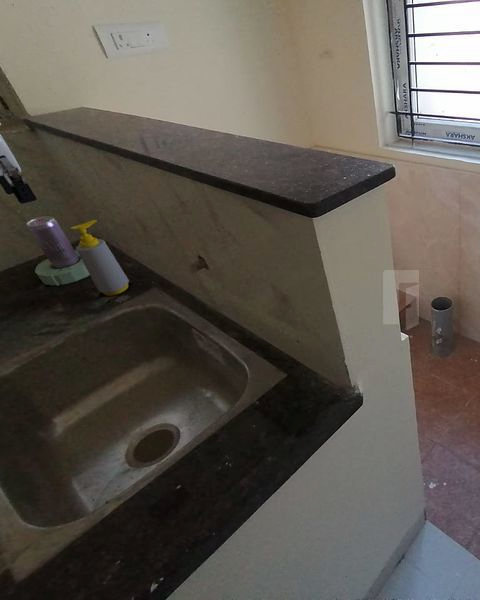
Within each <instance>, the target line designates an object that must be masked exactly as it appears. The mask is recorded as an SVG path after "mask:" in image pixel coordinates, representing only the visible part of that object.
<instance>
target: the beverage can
mask: <svg viewBox="0 0 480 600" xmlns="http://www.w3.org/2000/svg"><path fill="white" fill-rule="evenodd" d="M25 225H26V227H27V229H28V231H29V233H30V234H31V236H32V237H33V239H34V240H35V242H36V243H37V245H38V247H39V248H40V249H41V252H43V253H44V255H45V257H46V258H47V259H48V260H49V261H50V263H51V264H52V266H53V267H54V269H62V268H67V267H70V266H72V265H75V264H76V263H78V262H79V261H80V258H79V257H78V255H77V254H76V252H75V250H76V249H74V247H73V246H72V244H71V242H70V240H69V239H68V237H67V235H66V234H65V232H64V231H63V229H62V227H61V226H60V224H59V223H58V221H57V220H56V219H55V218H54V216H52V215H51V216H49V215H45V216H40V217H35V218H33V219H31V220H29V221H27V222H26V223H25Z"/></svg>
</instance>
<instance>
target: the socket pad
mask: <svg viewBox="0 0 480 600" xmlns="http://www.w3.org/2000/svg"><path fill="white" fill-rule="evenodd" d="M74 250H75V252H76V254H77V255H78V257H79V258H80V261H79V262H78V263H76V264H75V265H72V266H70V267H67V268H62V269H54V267H53V266H52V264H51V263H50V261H49V260H48V258H47V259H45V260H43V261H41V262H40V263H38V264H37V266H36V267H35V270H34V272H35V274H36V276H37V277H38V279H39V280H40V281H41V282H42V283H43V284H44V285H46V286H47V285H48V286H57V287H58V286H62V285H63V286H64V285H67V284H68V285H69V284H72V283H75V282H78V281H80V280H82V279H85V278H88V277H90V274H89V272H88V270H87V268H86V266H85V264H84V263H83V261H82V259H81V257H80V255H79V253H78V251H77V249H74Z"/></svg>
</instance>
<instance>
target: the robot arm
mask: <svg viewBox="0 0 480 600" xmlns="http://www.w3.org/2000/svg"><path fill="white" fill-rule="evenodd" d="M1 125H2V123H1V122H0V126H1ZM21 173H22V168H21V167H20V164H19V163H18V161H17V159H16V158H15V155H14V154H13V152H12V150H11V148H10V147H9V146H8V143H7V142H6V141H5V138H4V137H3V136H2V134H1V133H0V186H1V188H2V189H3V190H4V192H5V194H6V195H14V196H15V198H16V200H17V201H18V203H20V204H21V205H24V204H28V203H31V202H35V201H37V200H38V199H37V196H36V195H35V193H34V192H33V190H32V188H31V186H30V185H29V183H28V182H27V181H26V179H25V178H24V177H23V175H22V174H21Z"/></svg>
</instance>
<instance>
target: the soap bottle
mask: <svg viewBox="0 0 480 600" xmlns="http://www.w3.org/2000/svg"><path fill="white" fill-rule="evenodd" d="M97 222H98V220H97V219H92V220H89V221H87V222H84V223H83V222H82V223H79V224H78V225H74V226H71V227H70V229H72V230H77V232H78V233H79V234H80V237H79V239H80V241H79V242H78V245H77V246H76V247H75V250H77V251H78V253H79V255H80V257H81V259H82V261H83V263H84V264H85V266H86V268H87V270H88V272H89V274H90V275H89V277H90V278H91V279H92V281H93V283H94V285H95V287H96V289H97V291H98V292H99V293H101V294H103V295H104V296H115V295H118V294H119V295H120V294H121V293H123V292H125V291H126V290H127V289H128V288H129V283H130V279H129V278H128V276H127V275H126V273H125V272H124V270H123V269H122V267H121V266H120V263H119V262H118V261H117V259H116V257H115V256H114V254H113V253H112V251H111V249H110V248H109V246H108V245H107V243H106V241H105V240H104V239H102V238H97V237H96V236H93V235H92V234H90V233H87V229H88V228H90V227H91V226H92V225H93V224H96V223H97Z"/></svg>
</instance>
